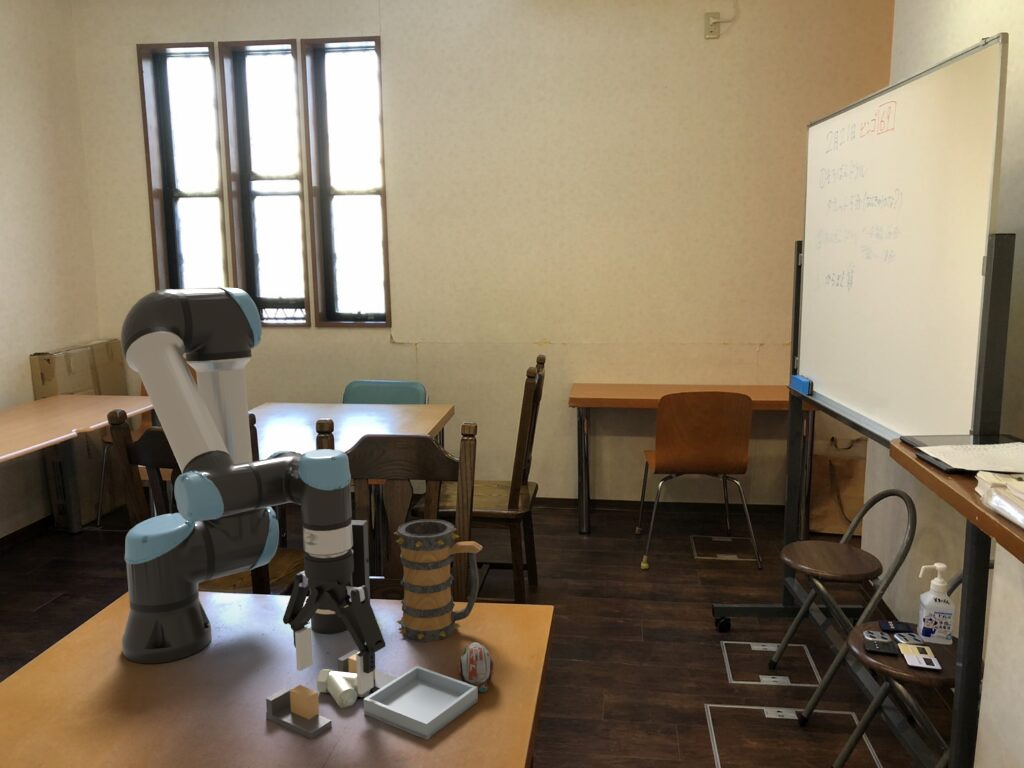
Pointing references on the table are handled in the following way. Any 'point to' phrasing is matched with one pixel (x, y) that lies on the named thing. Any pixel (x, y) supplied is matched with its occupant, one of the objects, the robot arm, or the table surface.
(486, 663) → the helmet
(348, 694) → the pipe fitting
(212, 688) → the table surface
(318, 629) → the light fixture
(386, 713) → the parts tray
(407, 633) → the mug
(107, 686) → the table surface
